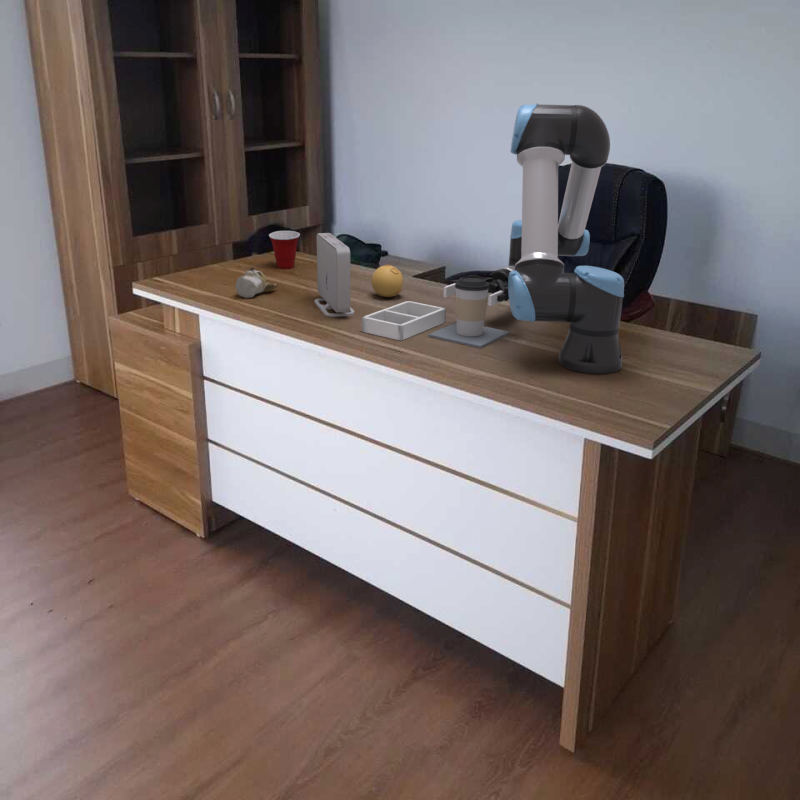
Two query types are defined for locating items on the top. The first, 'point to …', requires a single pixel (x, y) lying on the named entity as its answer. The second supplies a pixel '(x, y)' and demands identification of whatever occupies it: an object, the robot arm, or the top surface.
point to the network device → (333, 275)
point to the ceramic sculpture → (253, 284)
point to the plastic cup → (284, 248)
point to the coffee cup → (471, 305)
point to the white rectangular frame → (403, 320)
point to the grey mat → (474, 341)
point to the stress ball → (387, 281)
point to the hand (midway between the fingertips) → (466, 296)
